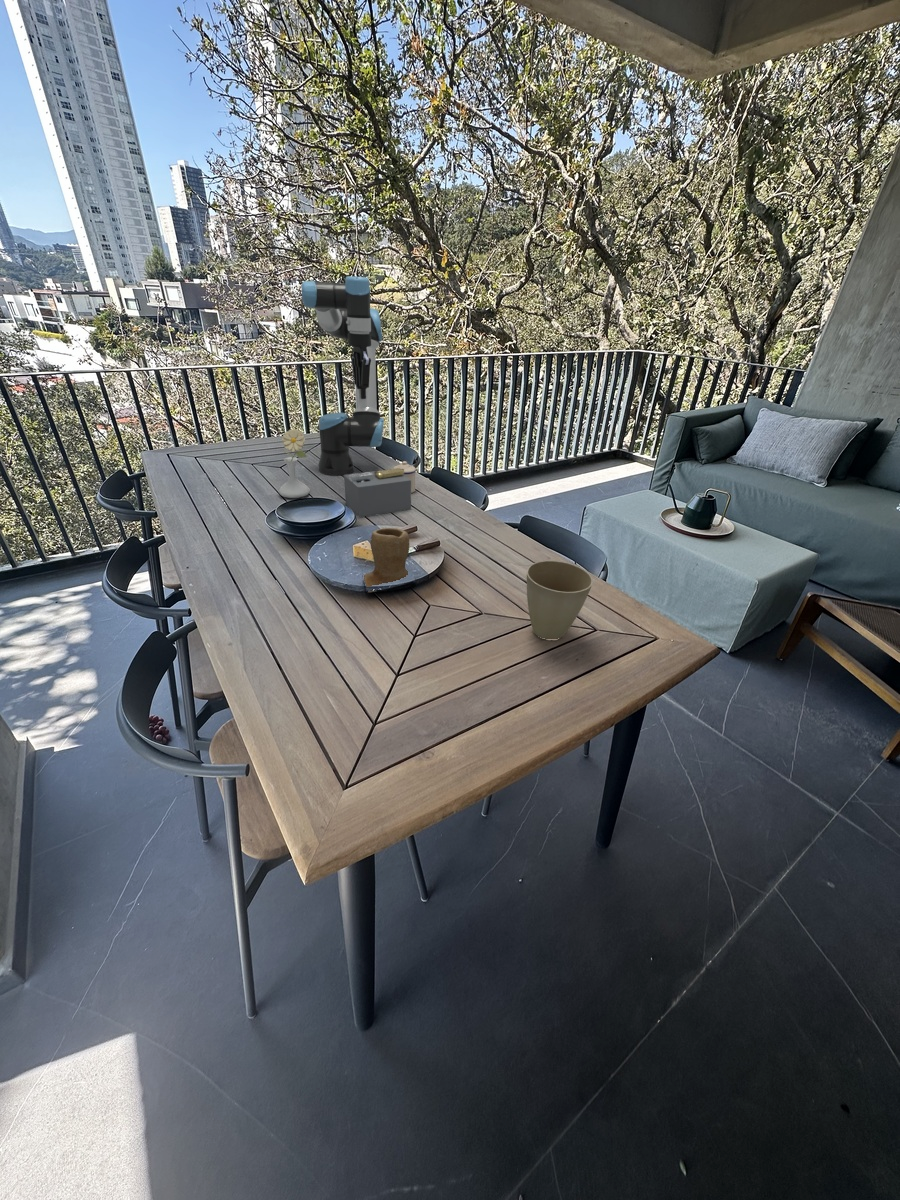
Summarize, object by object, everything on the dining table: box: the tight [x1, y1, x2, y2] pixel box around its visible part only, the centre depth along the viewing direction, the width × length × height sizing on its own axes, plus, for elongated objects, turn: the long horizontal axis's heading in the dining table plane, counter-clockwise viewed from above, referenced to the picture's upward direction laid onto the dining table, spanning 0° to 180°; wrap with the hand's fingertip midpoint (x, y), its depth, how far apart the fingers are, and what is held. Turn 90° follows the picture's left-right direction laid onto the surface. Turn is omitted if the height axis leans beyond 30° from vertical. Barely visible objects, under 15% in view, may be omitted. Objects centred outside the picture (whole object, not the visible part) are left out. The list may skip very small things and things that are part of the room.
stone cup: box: [363, 527, 410, 593], centre depth 134 cm, size 15×12×15 cm
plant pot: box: [526, 560, 594, 639], centre depth 117 cm, size 15×15×16 cm
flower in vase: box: [278, 428, 311, 499], centre depth 183 cm, size 13×11×25 cm
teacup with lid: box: [392, 460, 417, 494], centre depth 196 cm, size 12×9×12 cm
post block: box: [343, 469, 412, 518], centre depth 181 cm, size 14×20×11 cm
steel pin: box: [349, 471, 373, 483], centre depth 178 cm, size 3×8×12 cm, turn 120°
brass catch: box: [374, 468, 404, 479], centre depth 180 cm, size 4×11×2 cm, turn 120°
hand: (362, 408), depth 175 cm, fingers closed
